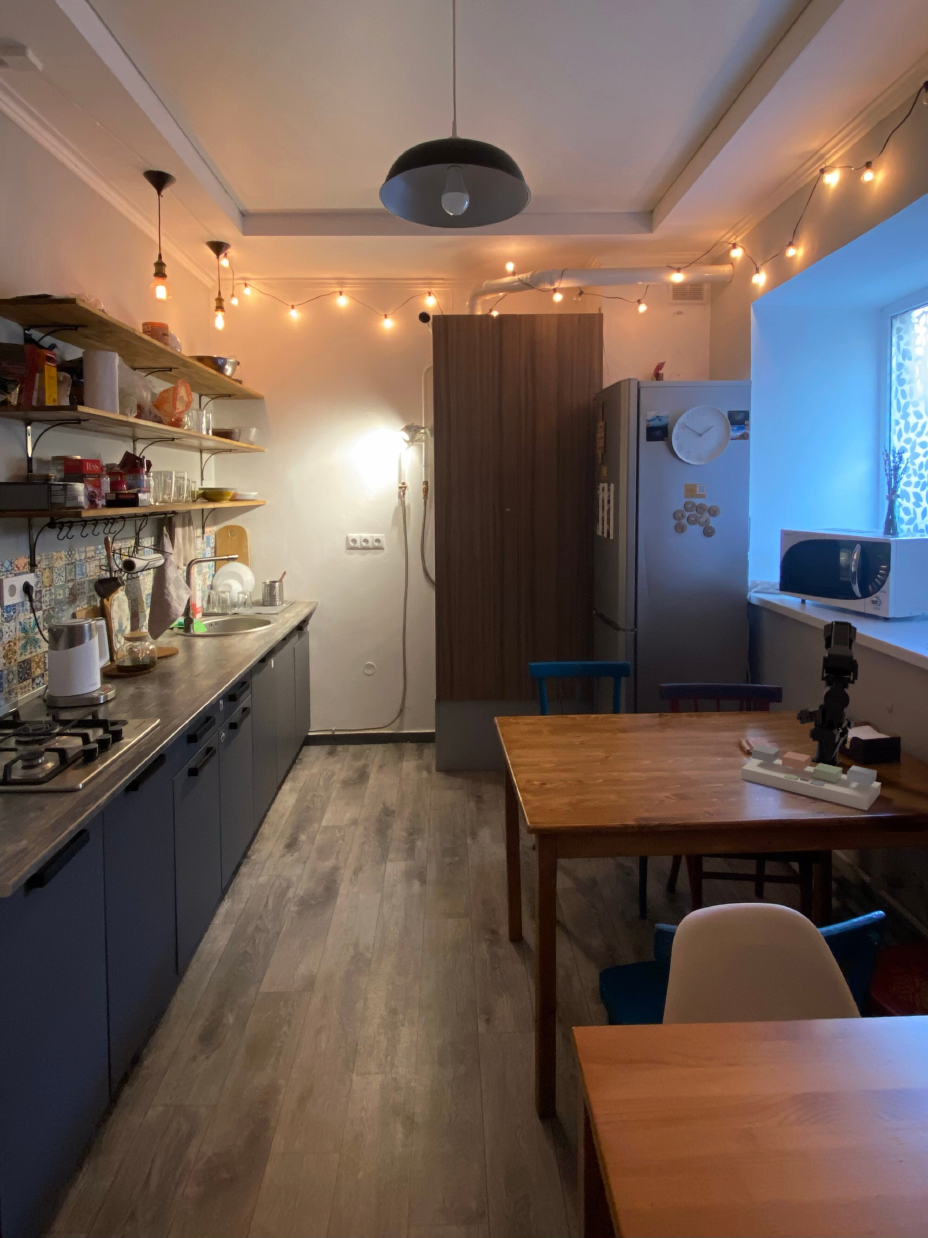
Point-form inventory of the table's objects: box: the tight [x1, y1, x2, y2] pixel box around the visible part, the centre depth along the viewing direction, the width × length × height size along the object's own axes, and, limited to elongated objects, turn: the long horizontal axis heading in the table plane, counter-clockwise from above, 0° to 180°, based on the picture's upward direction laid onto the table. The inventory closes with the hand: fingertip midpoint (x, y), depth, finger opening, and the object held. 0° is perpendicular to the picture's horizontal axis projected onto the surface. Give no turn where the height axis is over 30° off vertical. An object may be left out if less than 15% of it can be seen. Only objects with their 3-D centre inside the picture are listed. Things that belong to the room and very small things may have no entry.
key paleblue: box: [846, 765, 878, 786], centre depth 196 cm, size 6×6×2 cm
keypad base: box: [740, 758, 882, 811], centre depth 204 cm, size 14×31×3 cm, turn 50°
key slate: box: [751, 744, 781, 763], centre depth 212 cm, size 6×6×2 cm
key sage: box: [813, 763, 843, 783], centre depth 202 cm, size 6×6×2 cm
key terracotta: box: [781, 750, 812, 770], centre depth 206 cm, size 6×6×2 cm
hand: (829, 759), depth 201 cm, fingers closed
